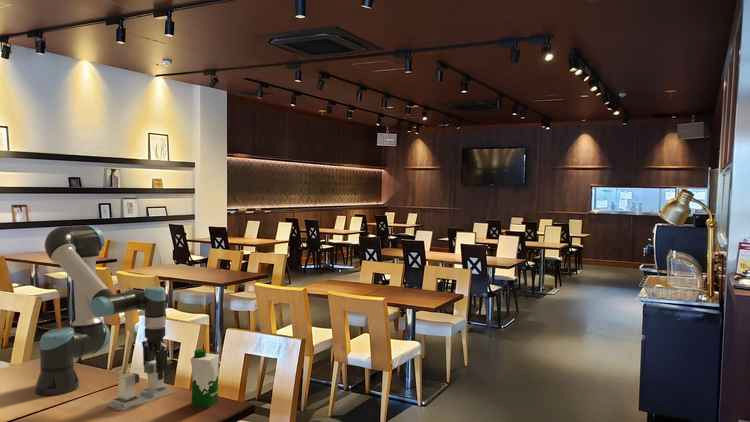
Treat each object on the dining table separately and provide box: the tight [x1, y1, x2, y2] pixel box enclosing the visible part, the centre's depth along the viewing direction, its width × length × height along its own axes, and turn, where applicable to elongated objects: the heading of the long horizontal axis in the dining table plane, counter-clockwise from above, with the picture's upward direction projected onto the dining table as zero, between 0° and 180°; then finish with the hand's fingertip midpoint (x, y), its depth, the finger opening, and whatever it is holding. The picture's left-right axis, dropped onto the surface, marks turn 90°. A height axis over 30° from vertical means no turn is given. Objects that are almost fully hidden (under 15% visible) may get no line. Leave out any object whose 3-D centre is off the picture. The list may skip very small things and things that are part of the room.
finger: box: [143, 359, 165, 389], centre depth 216 cm, size 6×4×10 cm, turn 147°
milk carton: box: [190, 348, 220, 409], centre depth 208 cm, size 9×9×20 cm
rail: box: [107, 372, 173, 412], centre depth 212 cm, size 8×22×11 cm, turn 147°
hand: (155, 386), depth 217 cm, fingers closed on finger, 4 cm apart
